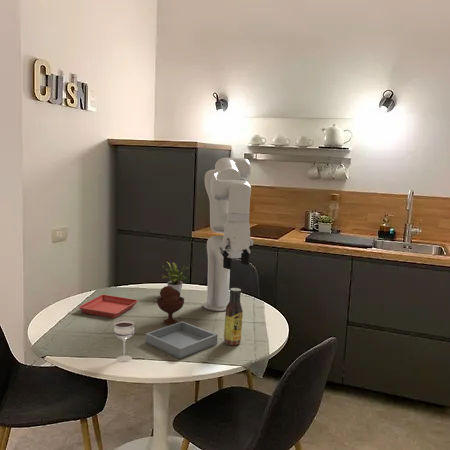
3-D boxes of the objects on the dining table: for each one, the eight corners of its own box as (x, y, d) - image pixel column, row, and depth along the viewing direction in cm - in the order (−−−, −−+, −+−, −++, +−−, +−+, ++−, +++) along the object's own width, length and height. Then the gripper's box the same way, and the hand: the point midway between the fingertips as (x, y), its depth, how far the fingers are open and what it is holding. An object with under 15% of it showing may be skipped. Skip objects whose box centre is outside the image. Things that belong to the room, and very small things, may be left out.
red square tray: (116, 321, 193) (116, 313, 192) (77, 314, 198) (77, 306, 198) (138, 307, 210) (138, 300, 209) (102, 301, 215) (102, 294, 215)
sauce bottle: (235, 347, 171) (237, 293, 168) (220, 343, 174) (222, 289, 171) (244, 341, 177) (247, 289, 173) (229, 337, 180) (232, 285, 177)
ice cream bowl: (179, 328, 186) (180, 291, 184) (152, 325, 189) (152, 288, 186) (187, 319, 197) (188, 283, 194) (161, 316, 199) (161, 280, 196)
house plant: (150, 294, 227) (151, 260, 224) (174, 289, 236) (175, 256, 234) (169, 302, 217) (169, 266, 214) (193, 296, 226) (194, 262, 224)
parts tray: (182, 329, 185) (182, 321, 185) (217, 343, 174) (217, 334, 173) (145, 343, 172) (145, 333, 171) (180, 359, 160) (180, 349, 160)
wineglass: (138, 360, 158) (138, 325, 156) (118, 364, 154) (118, 329, 152) (129, 352, 164) (129, 318, 162) (110, 356, 160) (110, 322, 158)
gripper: (245, 215, 177) (243, 260, 179) (213, 218, 164) (211, 268, 166) (262, 217, 172) (259, 264, 175) (230, 221, 159) (228, 272, 162)
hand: (236, 266), depth 171 cm, fingers open, 9 cm apart
